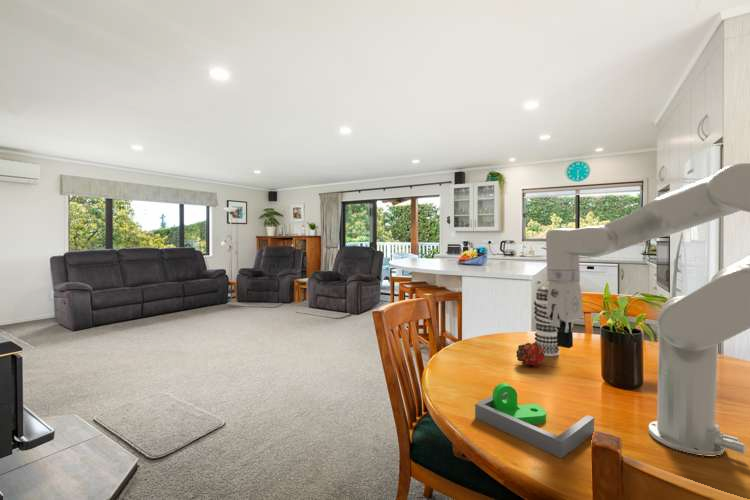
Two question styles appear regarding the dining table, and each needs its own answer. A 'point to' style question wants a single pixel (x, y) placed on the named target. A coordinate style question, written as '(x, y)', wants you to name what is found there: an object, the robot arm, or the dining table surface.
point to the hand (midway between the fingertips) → (565, 346)
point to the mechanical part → (510, 407)
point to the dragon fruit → (530, 354)
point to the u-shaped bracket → (535, 429)
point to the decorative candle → (544, 325)
